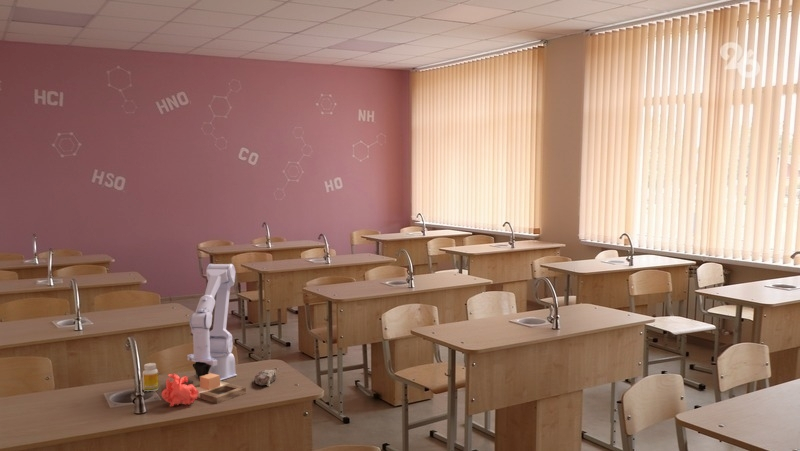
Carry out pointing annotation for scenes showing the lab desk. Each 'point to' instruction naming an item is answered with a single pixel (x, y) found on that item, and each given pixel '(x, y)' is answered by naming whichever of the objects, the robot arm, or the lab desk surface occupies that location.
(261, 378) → the mineral rock
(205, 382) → the terracotta block
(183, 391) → the anatomical heart
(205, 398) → the tunnel deck
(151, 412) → the lab desk surface
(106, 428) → the lab desk surface
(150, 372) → the supplement bottle
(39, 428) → the lab desk surface
